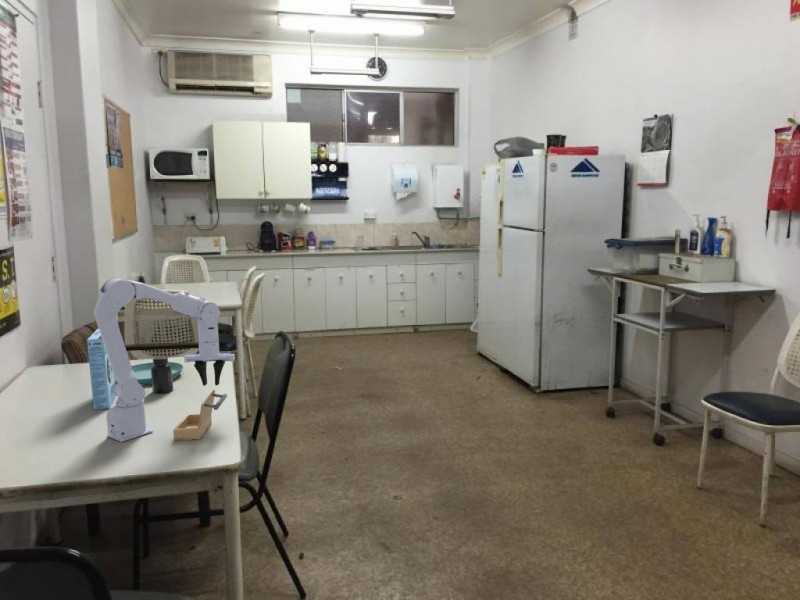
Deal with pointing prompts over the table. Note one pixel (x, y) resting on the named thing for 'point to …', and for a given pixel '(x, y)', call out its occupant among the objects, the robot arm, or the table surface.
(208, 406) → the lid
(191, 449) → the table surface
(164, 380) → the supplement bottle
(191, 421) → the carton
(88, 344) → the gum box
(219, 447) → the table surface
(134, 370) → the saucer
